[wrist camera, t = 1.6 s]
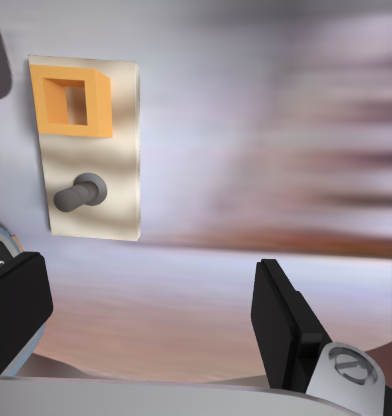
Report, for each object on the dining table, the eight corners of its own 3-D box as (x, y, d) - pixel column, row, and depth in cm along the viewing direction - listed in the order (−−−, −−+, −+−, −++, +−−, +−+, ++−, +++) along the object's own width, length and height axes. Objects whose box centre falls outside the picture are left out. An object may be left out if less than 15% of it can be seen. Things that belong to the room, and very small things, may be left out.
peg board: (40, 60, 28) (-22, 31, 20) (139, 67, 28) (115, 41, 20) (60, 229, 34) (19, 256, 27) (140, 235, 34) (122, 263, 26)
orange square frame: (54, 74, 26) (29, 64, 22) (110, 78, 26) (94, 68, 22) (60, 133, 28) (38, 133, 24) (112, 137, 28) (98, 137, 24)
